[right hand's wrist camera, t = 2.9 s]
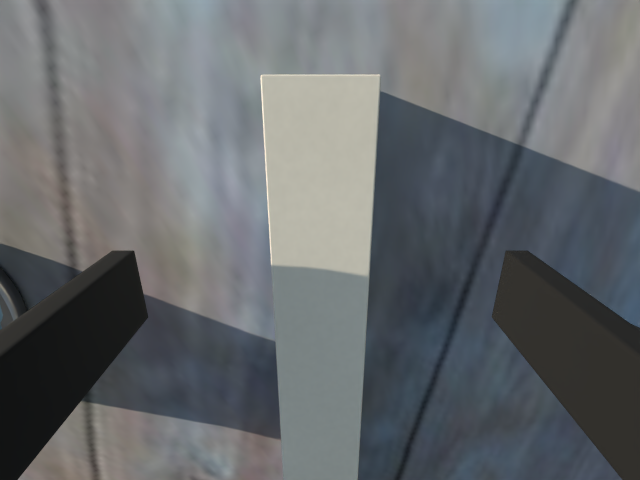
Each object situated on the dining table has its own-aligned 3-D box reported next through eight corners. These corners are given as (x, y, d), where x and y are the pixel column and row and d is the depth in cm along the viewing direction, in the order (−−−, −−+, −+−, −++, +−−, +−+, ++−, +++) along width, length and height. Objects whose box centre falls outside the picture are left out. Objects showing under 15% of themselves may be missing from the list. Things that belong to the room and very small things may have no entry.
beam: (278, 83, 23) (260, 74, 16) (362, 83, 23) (381, 74, 16) (297, 560, 43) (292, 652, 36) (343, 560, 43) (347, 652, 36)
